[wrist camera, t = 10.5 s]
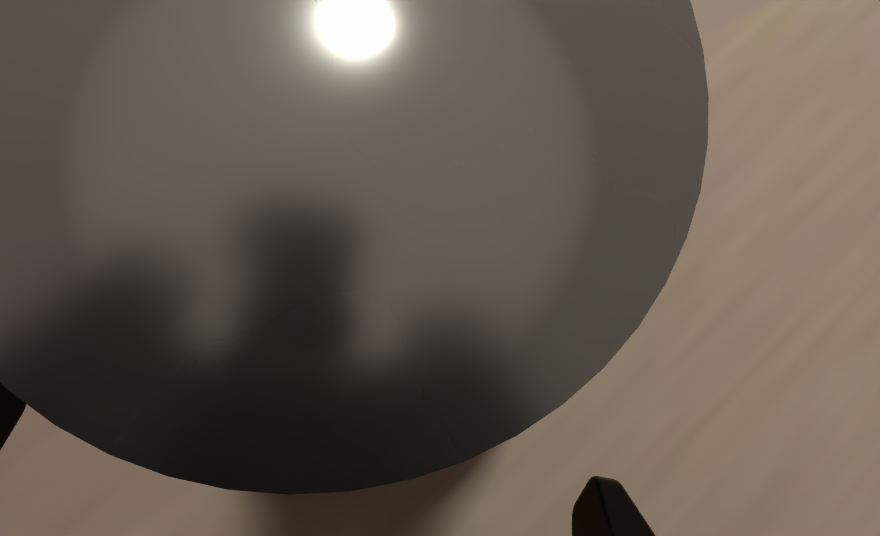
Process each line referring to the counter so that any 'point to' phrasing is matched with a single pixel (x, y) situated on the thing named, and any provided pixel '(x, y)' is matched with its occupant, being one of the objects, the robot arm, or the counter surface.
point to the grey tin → (334, 222)
